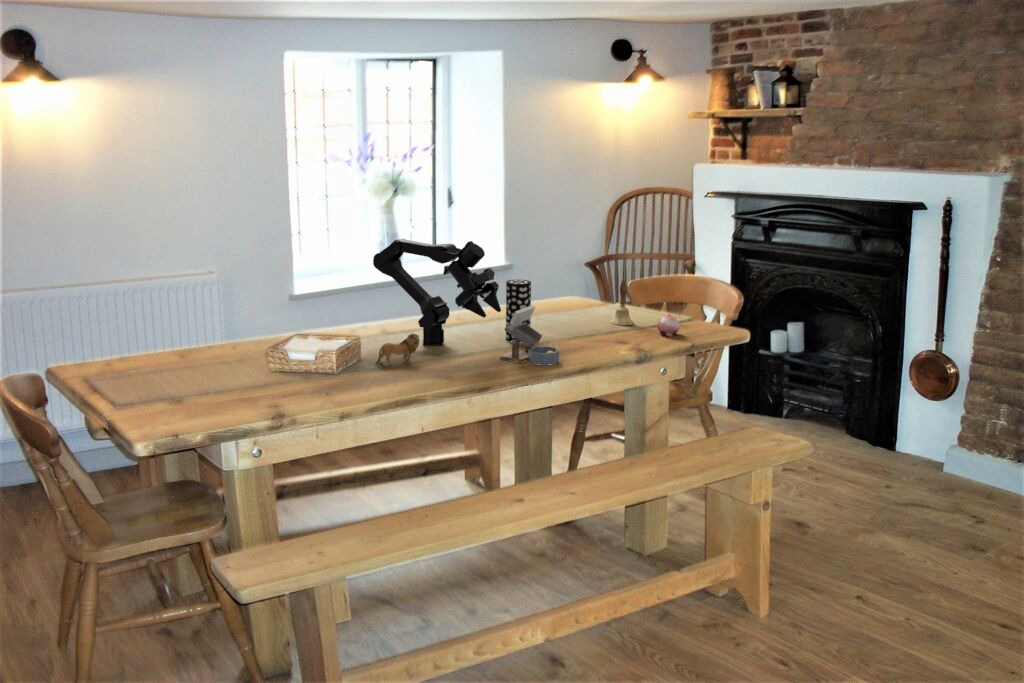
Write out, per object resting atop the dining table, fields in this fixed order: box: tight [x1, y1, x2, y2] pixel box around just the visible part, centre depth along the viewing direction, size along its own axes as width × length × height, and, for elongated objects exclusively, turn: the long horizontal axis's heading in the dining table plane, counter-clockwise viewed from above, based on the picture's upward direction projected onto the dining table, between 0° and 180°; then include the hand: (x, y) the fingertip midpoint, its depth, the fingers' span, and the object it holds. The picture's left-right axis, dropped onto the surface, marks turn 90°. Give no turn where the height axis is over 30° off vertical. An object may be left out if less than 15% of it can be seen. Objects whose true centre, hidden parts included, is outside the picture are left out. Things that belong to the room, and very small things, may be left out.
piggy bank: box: [656, 313, 681, 338], centre depth 377 cm, size 8×8×7 cm
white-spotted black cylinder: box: [505, 279, 532, 342], centre depth 366 cm, size 8×8×20 cm
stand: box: [499, 339, 533, 363], centre depth 345 cm, size 8×11×7 cm
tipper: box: [503, 304, 543, 347], centre depth 342 cm, size 10×11×8 cm
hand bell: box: [610, 279, 634, 326], centre depth 392 cm, size 8×8×16 cm
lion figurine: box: [374, 333, 420, 366], centre depth 337 cm, size 15×5×9 cm, turn 117°
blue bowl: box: [527, 345, 560, 366], centre depth 341 cm, size 9×9×4 cm
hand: (492, 314), depth 348 cm, fingers open, 9 cm apart
